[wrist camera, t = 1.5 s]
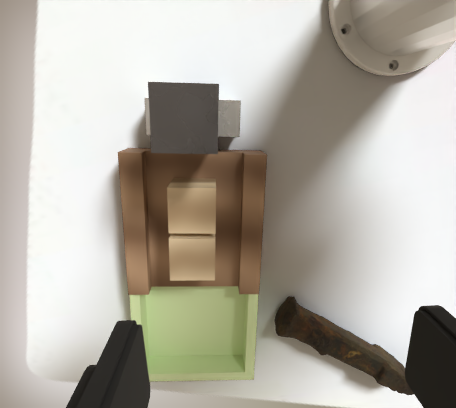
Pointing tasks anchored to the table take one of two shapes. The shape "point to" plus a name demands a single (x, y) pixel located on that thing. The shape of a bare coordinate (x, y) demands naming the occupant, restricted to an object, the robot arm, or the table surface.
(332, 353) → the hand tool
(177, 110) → the cube with crossbar
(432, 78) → the table surface
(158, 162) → the slot board
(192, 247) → the light brown wooden block
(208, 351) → the tray
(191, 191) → the light brown cube
